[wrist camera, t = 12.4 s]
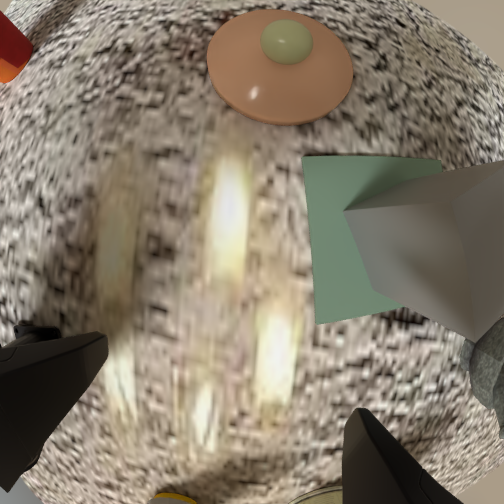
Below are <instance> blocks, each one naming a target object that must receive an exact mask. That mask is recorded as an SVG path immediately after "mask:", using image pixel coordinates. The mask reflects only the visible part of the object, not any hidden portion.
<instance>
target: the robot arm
mask: <svg viewBox="0 0 504 504" xmlns="http://www.w3.org/2000/svg"><path fill="white" fill-rule="evenodd" d="M54 332H55V333H54ZM14 333H15V336H16V339H15V340H14V341H12V342H10V343H9V344H7V345H5V346H4V347H2V346H1V344H0V487H2V488H3V489H4V490H5V491H6V492H7V493H8V492H9V491H10V490H11V488H12V487H13V485H14V484H15V482H16V481H17V480H18V478H19V477H20V476H21V475H22V474H23V472H26V471H28V470H29V469H31V468H32V467H33V466H34V465H35V464H36V463H37V461H38V459H39V457H40V454H41V451H42V448H43V446H44V443H45V442H46V440H47V439H48V438H49V436H50V435H51V434H52V432H53V431H54V430H55V429H56V427H57V426H58V425H59V423H60V422H61V421H62V420H63V418H64V417H65V416H66V415H67V413H68V412H69V411H70V410H71V408H72V407H73V406H74V405H75V403H76V402H77V401H78V400H79V398H80V397H81V396H82V395H83V393H84V392H85V391H86V390H87V388H88V387H89V386H90V384H91V383H92V381H93V380H94V378H95V377H96V375H97V373H98V372H99V370H100V369H101V367H102V366H103V364H104V363H105V361H106V359H107V357H108V338H107V336H106V335H105V334H103V333H101V332H98V331H96V332H91V333H86V334H81V335H76V336H71V337H66V338H61V335H60V332H59V329H58V328H57V327H55V326H32V325H16V326H14ZM342 504H463V503H462V502H461V501H460V500H458V499H457V498H456V497H455V496H453V495H452V494H451V493H450V492H448V491H447V490H446V489H445V488H444V487H442V486H441V485H440V484H439V483H438V482H437V481H436V480H435V479H434V478H433V477H432V476H431V475H430V474H429V473H428V472H427V471H426V470H425V469H422V466H421V465H420V464H419V463H418V462H417V461H416V460H415V459H414V458H413V457H412V456H411V455H410V454H409V453H408V451H407V450H406V449H405V448H404V447H403V446H402V445H401V444H400V443H399V442H398V441H397V440H396V439H395V438H394V437H393V436H392V435H391V433H390V432H389V431H388V430H387V429H386V428H385V427H384V426H383V425H382V424H381V423H380V422H379V421H378V419H377V418H376V417H375V416H374V415H373V414H372V413H371V412H370V411H369V410H368V409H366V408H356V409H355V410H354V411H353V413H352V414H351V416H350V417H349V419H348V420H347V422H346V424H345V428H344V442H343V454H342Z"/></svg>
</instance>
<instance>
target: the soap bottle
mask: <svg viewBox="0 0 504 504" xmlns="http://www.w3.org/2000/svg"><path fill="white" fill-rule="evenodd" d="M147 504H197V503H196V501H194V500H192V499H191V498H189V497H186V496H183V495H180V494H175V493H160V494H157V495H156V496H155V497H154V498H152V499H150V500H149V501H148V503H147Z"/></svg>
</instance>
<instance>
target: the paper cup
mask: <svg viewBox="0 0 504 504" xmlns="http://www.w3.org/2000/svg"><path fill="white" fill-rule="evenodd" d="M32 51H33V45H32V43H31V42H30V41H29V40H28V39H27V38H26V37H25V36H24V35H23V33H22V32H21V31H20V30H19V29H18V28H17V27H16V26H15V25H14V24H13V23H12V22H11V21H10V20H9V19H8V18H7V17H6V16H5V15H4V14H3V13H2V12H1V11H0V82H2V83H8V82H10V81H11V80H13V79H14V78H15V77H16V76H17V75H18V74H19V73H20V72H21V71H22V69H23V68H24V67H25V65H26V64H27V62H28V61H29V59H30V57H31V54H32Z"/></svg>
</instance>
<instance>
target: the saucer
mask: <svg viewBox="0 0 504 504" xmlns="http://www.w3.org/2000/svg"><path fill="white" fill-rule="evenodd" d="M207 65H208V71H209V77H210V80H211V83H212V85H213V87H214V89H215V91H216V92H217V93H218V95H219V96H220V97H221V98H222V99H223V100H224V102H225V103H226V104H228V105H229V106H230V107H231V108H233V109H234V110H236V111H237V112H239V113H241V114H242V115H244V116H246V117H249V118H251V119H254V120H256V121H259V122H263V123H267V124H273V125H281V126H292V125H302V124H306V123H310V122H313V121H316V120H318V119H320V118H323V117H324V116H326V115H327V114H329V113H330V112H331V111H333V110H334V109H335V108H336V107H337V106H338V104H339V103H340V102H341V101H342V100H343V99H344V97H345V96H346V95H347V93H348V91H349V89H350V87H351V84H352V80H353V66H352V61H351V58H350V56H349V53H348V51H347V49H346V48H345V46H344V45H343V43H342V42H341V40H340V39H339V38H338V37H337V36H336V35H335V34H334V33H333V32H332V31H331V30H329V29H328V28H327V27H325V26H324V25H323V24H321V23H319V22H318V21H316V20H314V19H312V18H310V17H307V16H305V15H302V14H299V13H295V12H291V11H286V10H277V9H264V10H256V11H251V12H247V13H244V14H241V15H239V16H237V17H235V18H232V19H231V20H229V21H228V22H226V23H225V24H224V25H222V26H221V27H220V28H219V29H218V30H217V32H216V33H215V34H214V36H213V37H212V39H211V41H210V43H209V46H208V50H207Z"/></svg>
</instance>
